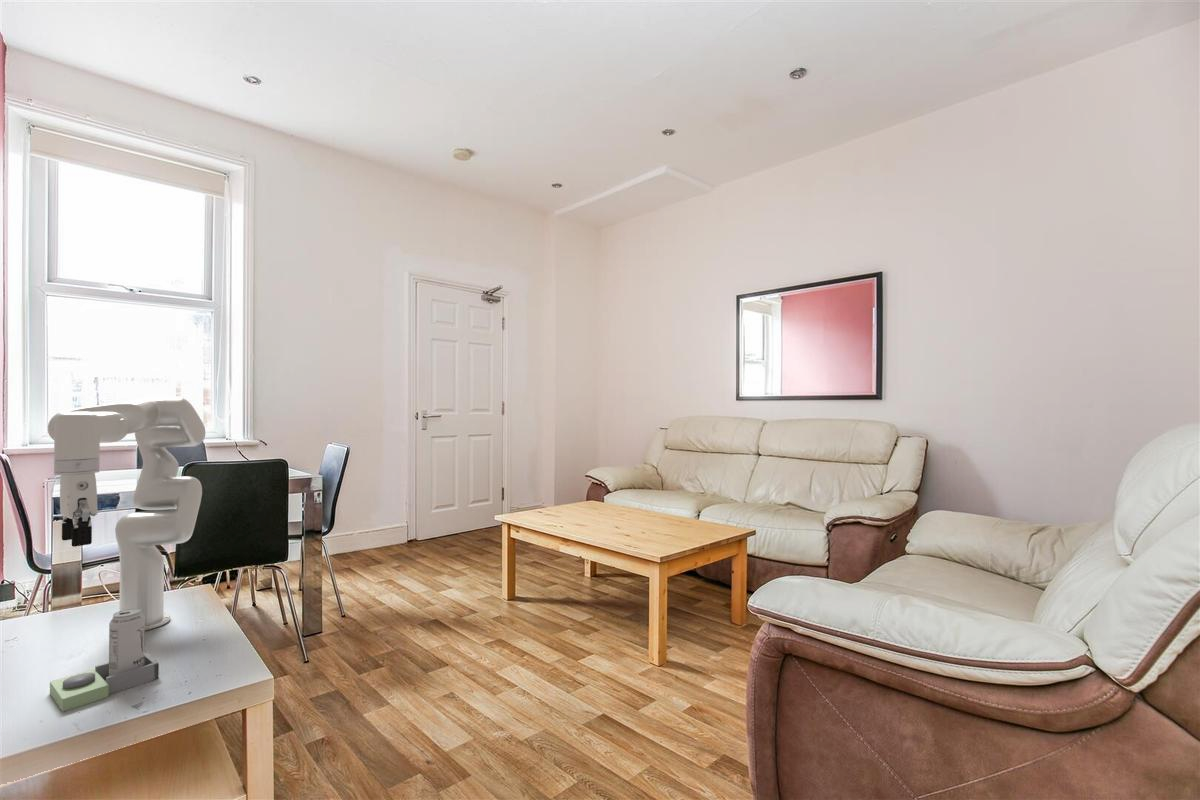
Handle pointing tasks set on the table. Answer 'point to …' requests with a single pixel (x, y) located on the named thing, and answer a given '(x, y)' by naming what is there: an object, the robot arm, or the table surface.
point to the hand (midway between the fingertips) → (76, 542)
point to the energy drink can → (126, 641)
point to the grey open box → (99, 683)
